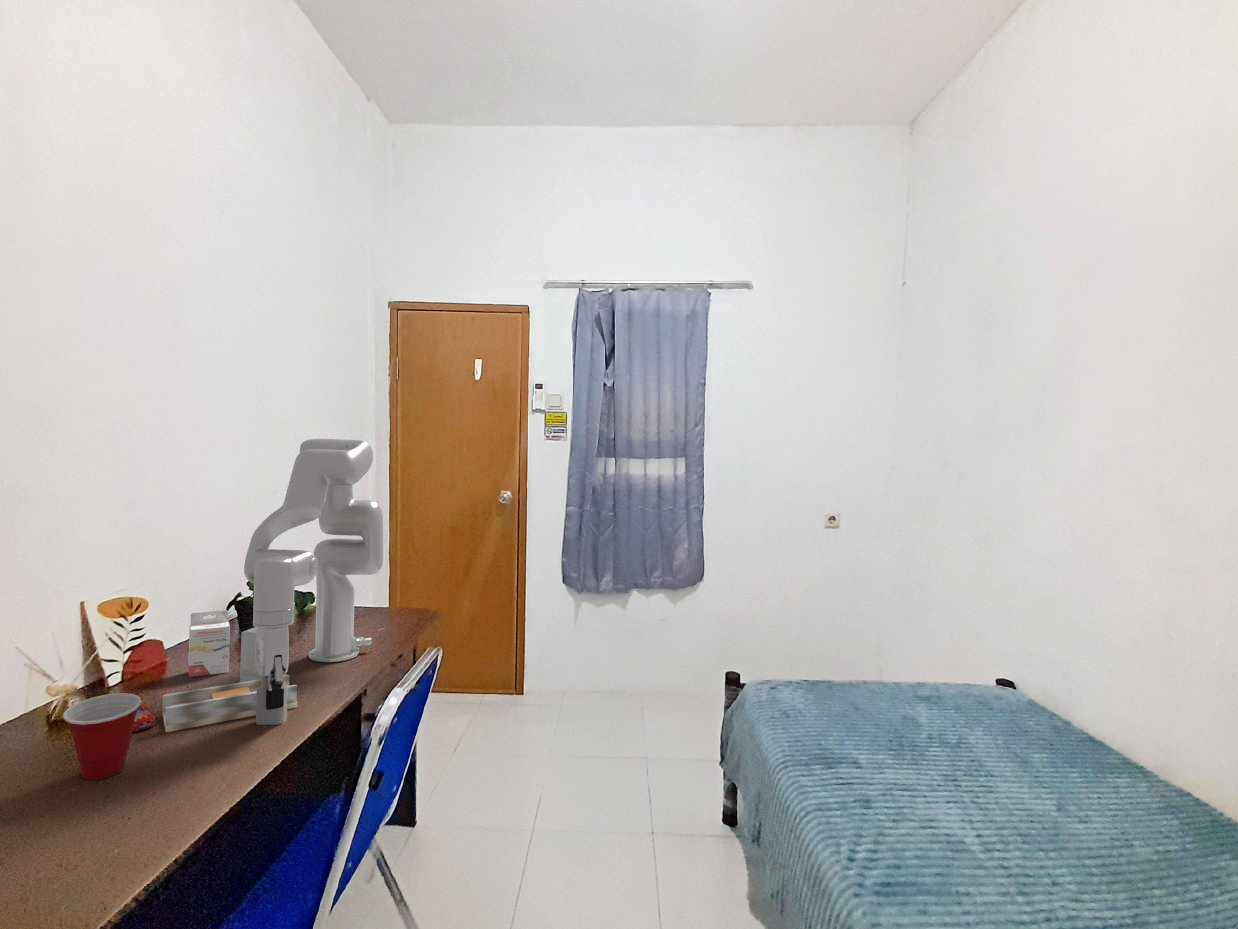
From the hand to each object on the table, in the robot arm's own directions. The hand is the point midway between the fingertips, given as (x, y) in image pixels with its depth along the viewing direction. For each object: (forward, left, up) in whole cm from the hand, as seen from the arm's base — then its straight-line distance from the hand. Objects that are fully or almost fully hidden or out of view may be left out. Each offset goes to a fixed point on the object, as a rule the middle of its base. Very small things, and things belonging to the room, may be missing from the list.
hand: (271, 702), depth 141 cm
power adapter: (0, 0, -4) cm, 4 cm away
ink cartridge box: (+7, -39, -4) cm, 40 cm away
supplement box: (-3, -26, -4) cm, 27 cm away
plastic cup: (+28, +8, -4) cm, 29 cm away
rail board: (+6, -10, -4) cm, 12 cm away
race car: (+24, -14, -5) cm, 28 cm away
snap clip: (+6, -10, -1) cm, 12 cm away
